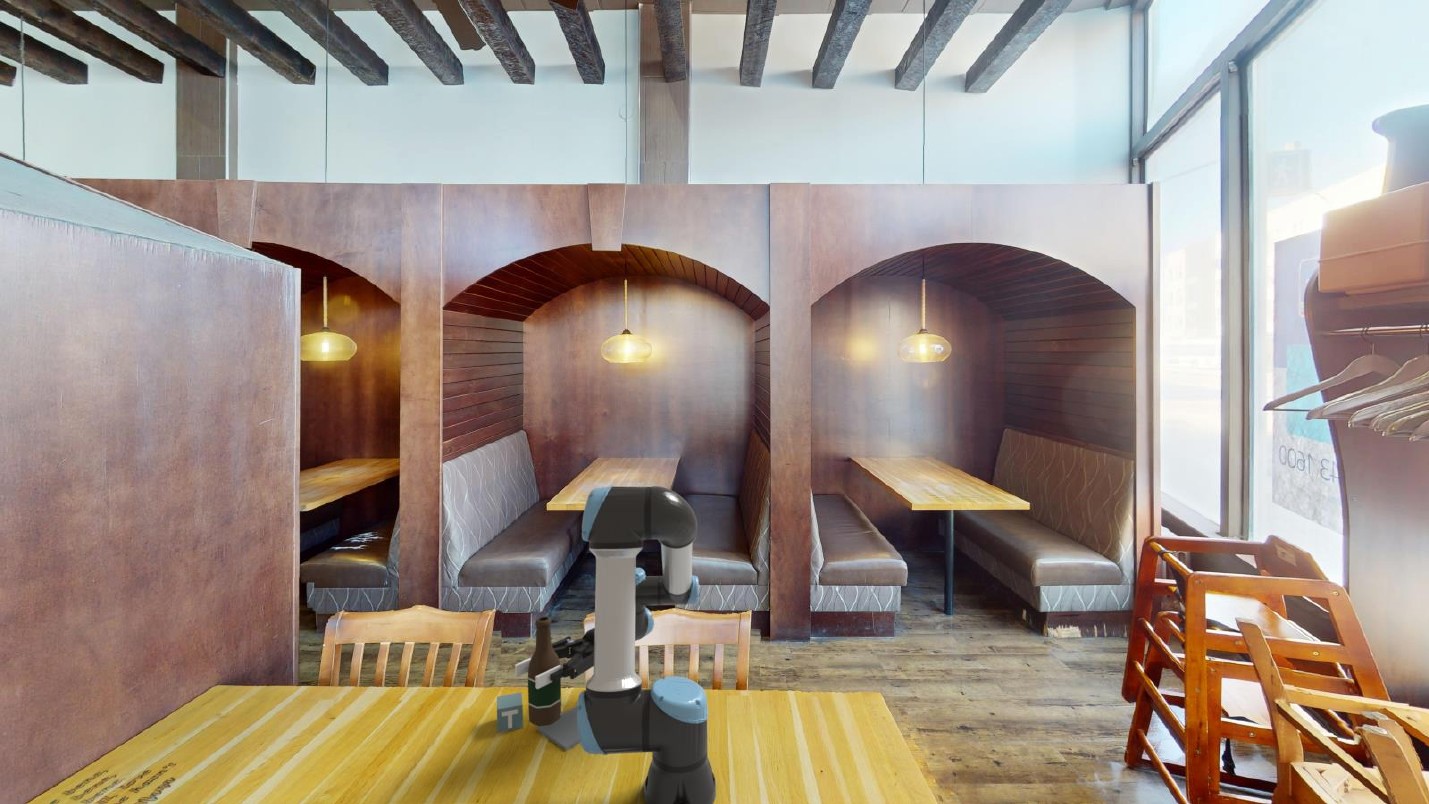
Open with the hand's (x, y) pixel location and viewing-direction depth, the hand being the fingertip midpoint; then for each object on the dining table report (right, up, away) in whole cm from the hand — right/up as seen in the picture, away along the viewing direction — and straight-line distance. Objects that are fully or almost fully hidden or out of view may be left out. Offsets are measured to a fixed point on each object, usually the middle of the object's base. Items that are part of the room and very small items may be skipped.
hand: (526, 676), depth 135 cm
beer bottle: (+3, -12, +5) cm, 13 cm away
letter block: (-9, -18, +14) cm, 25 cm away
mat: (+8, -18, +12) cm, 23 cm away
